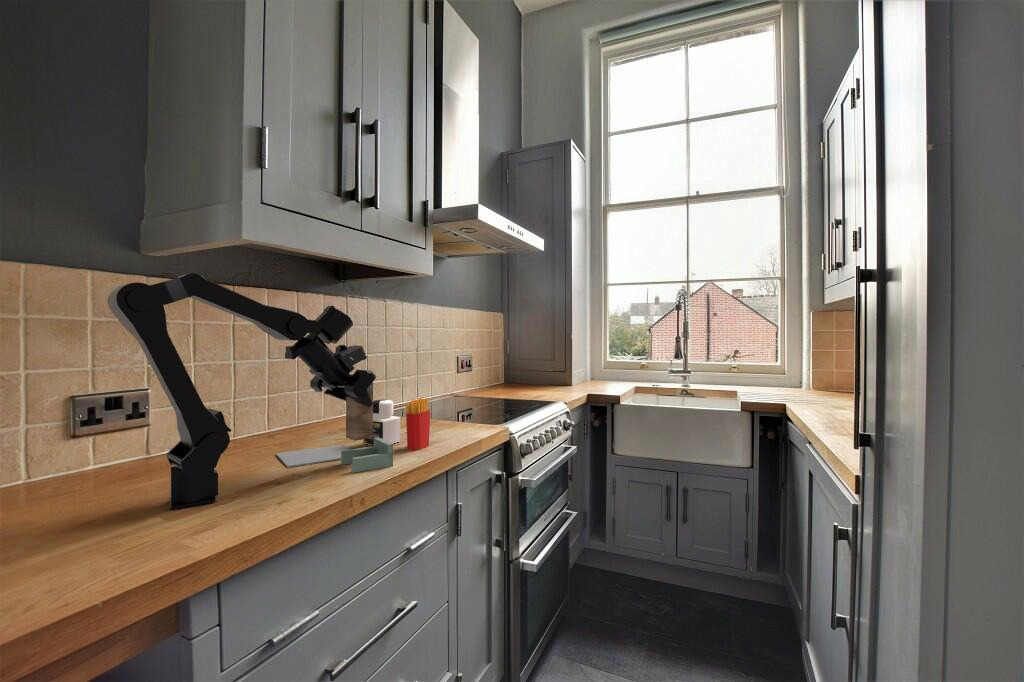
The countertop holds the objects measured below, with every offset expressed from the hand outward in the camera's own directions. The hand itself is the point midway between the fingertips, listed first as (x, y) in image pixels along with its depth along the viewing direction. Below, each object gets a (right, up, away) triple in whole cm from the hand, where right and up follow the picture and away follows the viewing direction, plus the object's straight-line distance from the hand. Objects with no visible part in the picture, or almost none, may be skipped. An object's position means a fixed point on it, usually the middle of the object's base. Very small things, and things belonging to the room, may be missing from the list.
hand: (364, 404), depth 108 cm
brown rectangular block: (-1, -8, -1) cm, 8 cm away
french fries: (+10, -14, +14) cm, 22 cm away
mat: (-13, -13, +5) cm, 19 cm away
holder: (+1, -13, -3) cm, 14 cm away
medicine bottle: (-1, -14, +19) cm, 23 cm away
